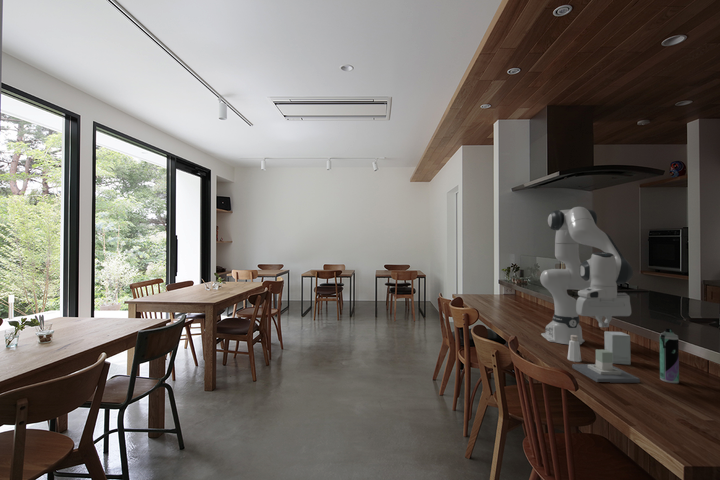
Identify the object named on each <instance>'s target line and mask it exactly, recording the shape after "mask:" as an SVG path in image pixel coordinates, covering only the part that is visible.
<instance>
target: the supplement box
mask: <svg viewBox="0 0 720 480" xmlns="http://www.w3.org/2000/svg"><path fill="white" fill-rule="evenodd" d="M604 350H608V351H610V352H612V364H617V365H629V366H630V365H631V362H632V361H631V355H632V354H631V335H629V334H627V333H625V332H623V331H604Z"/></svg>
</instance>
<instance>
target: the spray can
mask: <svg viewBox="0 0 720 480" xmlns="http://www.w3.org/2000/svg"><path fill="white" fill-rule="evenodd" d="M679 342H680V341H679V335H678V334H676V333H674V331H673V330H672V328H665V329H664V331H663V332H660V333H659V380H660V381H663V382H665V383H671V384H679V383H680V370H679V369H680V364H679V363H680V361H679V360H680V356H679V353H680V352H679V351H680V350H679V347H680V344H679Z"/></svg>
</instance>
